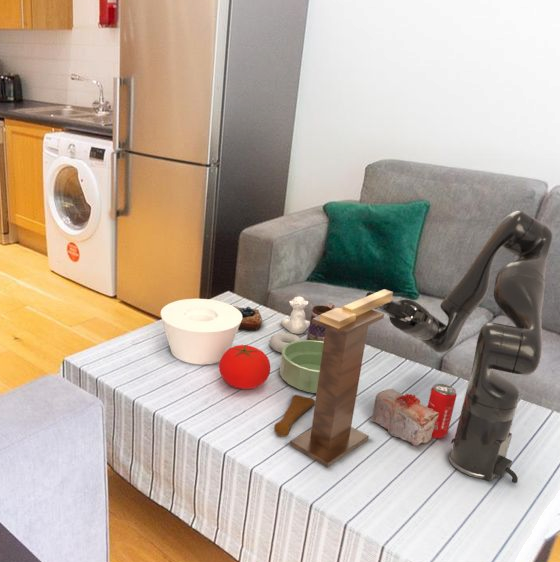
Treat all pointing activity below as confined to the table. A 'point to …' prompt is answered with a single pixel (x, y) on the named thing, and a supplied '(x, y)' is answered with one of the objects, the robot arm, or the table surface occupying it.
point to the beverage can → (442, 407)
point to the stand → (337, 392)
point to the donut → (282, 340)
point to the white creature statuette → (297, 317)
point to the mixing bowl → (302, 364)
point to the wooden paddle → (355, 309)
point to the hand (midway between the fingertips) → (385, 301)
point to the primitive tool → (293, 414)
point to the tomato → (244, 367)
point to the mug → (315, 330)
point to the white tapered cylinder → (200, 329)
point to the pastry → (250, 319)
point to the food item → (404, 416)
